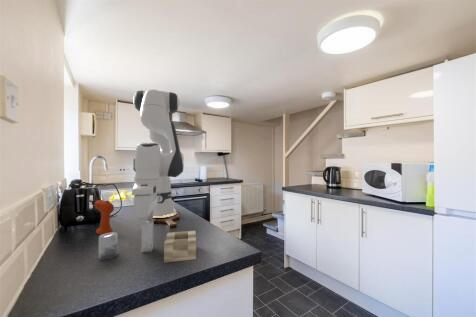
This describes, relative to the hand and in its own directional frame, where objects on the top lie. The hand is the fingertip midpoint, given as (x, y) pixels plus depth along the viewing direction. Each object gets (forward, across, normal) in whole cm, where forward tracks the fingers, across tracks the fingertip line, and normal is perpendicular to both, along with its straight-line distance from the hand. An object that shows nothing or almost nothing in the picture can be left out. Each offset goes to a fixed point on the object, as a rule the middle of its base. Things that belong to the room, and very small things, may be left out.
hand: (147, 225), depth 72 cm
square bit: (+9, -1, 0) cm, 9 cm away
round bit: (+9, +1, -12) cm, 15 cm away
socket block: (+9, +5, +12) cm, 16 cm away
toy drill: (+9, -27, -26) cm, 38 cm away
